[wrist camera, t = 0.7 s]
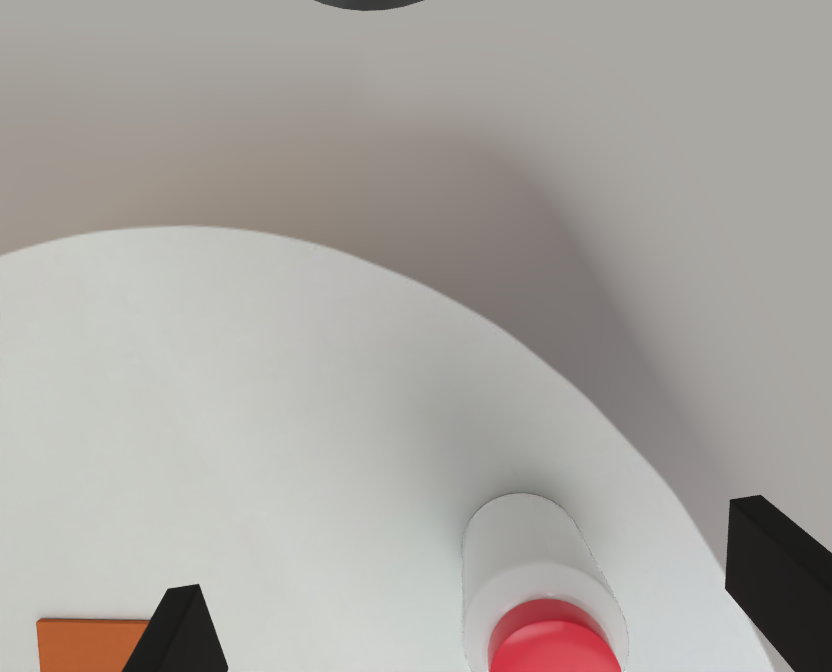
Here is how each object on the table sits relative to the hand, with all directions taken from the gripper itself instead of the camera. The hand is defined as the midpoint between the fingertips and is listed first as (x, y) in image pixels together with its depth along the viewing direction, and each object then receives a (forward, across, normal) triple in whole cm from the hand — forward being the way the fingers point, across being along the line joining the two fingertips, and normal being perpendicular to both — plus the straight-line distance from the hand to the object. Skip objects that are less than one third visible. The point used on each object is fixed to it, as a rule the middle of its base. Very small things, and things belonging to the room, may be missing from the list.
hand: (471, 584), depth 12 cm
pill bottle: (+16, +4, -14) cm, 21 cm away
